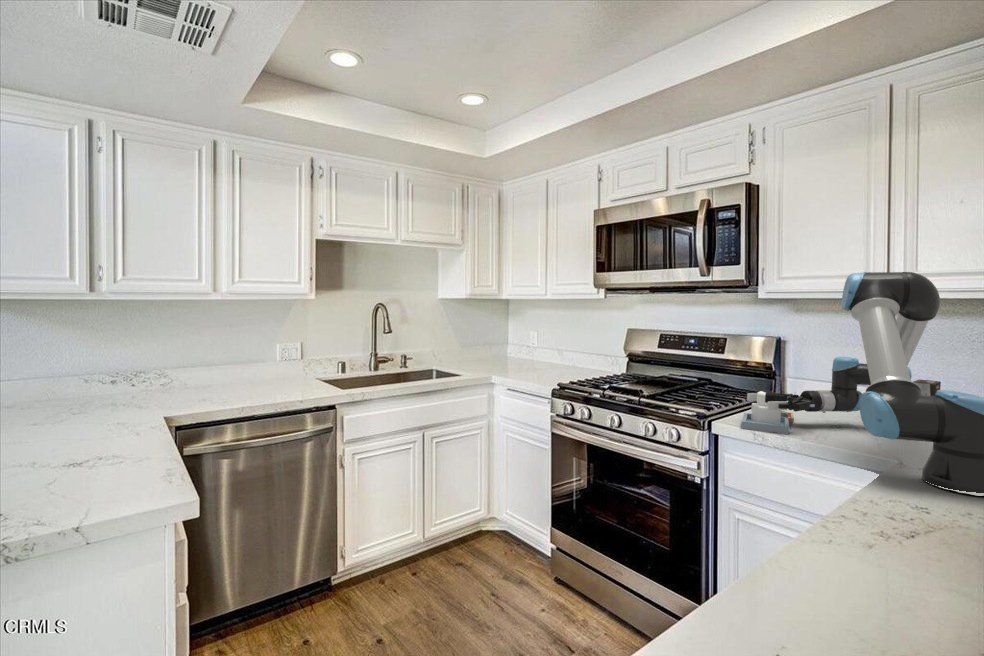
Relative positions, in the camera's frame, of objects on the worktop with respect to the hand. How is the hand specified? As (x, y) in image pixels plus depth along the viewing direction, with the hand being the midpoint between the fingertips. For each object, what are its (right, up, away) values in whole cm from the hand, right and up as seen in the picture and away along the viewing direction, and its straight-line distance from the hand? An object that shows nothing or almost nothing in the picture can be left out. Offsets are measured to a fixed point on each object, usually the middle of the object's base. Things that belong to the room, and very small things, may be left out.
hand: (757, 401), depth 180 cm
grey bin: (+3, -9, +1) cm, 10 cm away
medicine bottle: (+3, -9, +1) cm, 9 cm away
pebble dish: (+14, -8, +11) cm, 19 cm away
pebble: (+14, -7, +9) cm, 18 cm away
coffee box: (+61, -9, +2) cm, 62 cm away
